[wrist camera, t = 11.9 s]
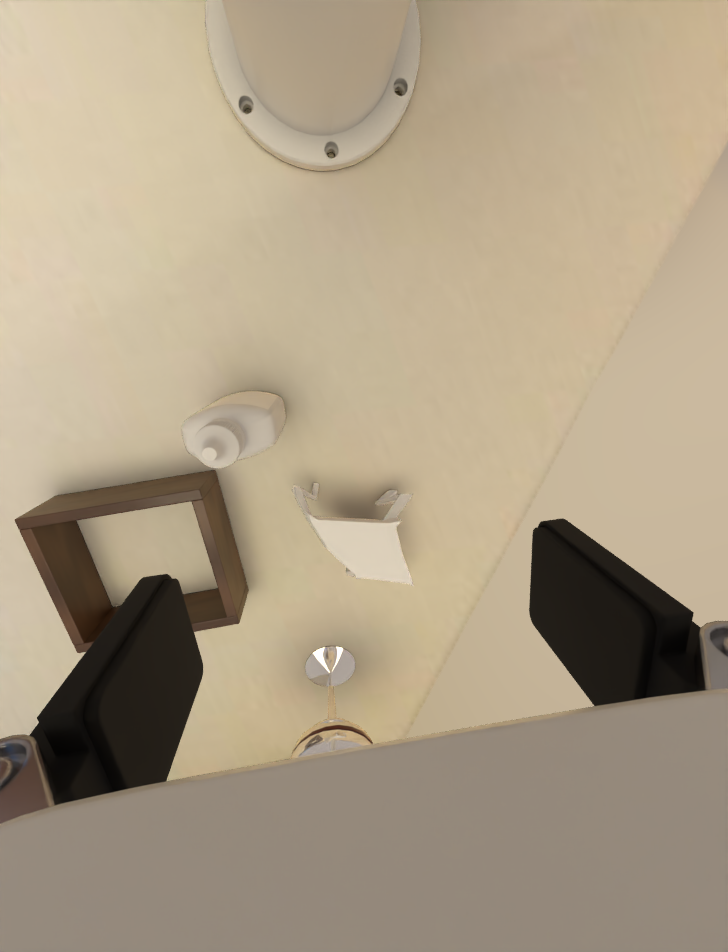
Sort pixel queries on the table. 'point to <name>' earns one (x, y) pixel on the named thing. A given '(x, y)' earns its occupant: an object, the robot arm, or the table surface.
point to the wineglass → (330, 706)
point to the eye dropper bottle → (234, 428)
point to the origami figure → (363, 538)
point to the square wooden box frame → (75, 573)
